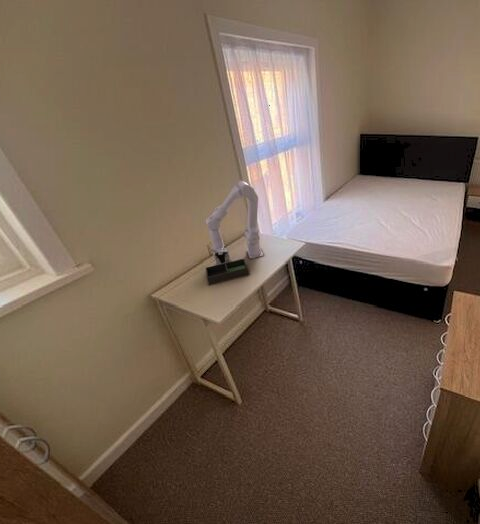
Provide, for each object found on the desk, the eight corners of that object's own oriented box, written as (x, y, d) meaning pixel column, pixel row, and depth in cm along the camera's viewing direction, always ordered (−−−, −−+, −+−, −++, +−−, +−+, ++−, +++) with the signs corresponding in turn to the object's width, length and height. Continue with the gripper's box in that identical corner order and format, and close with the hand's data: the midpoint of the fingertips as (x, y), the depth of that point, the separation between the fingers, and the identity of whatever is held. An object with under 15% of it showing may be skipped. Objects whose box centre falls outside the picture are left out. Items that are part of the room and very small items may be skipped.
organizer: (207, 274, 156) (205, 267, 153) (245, 265, 163) (243, 258, 160) (209, 285, 148) (206, 277, 145) (248, 274, 155) (247, 267, 152)
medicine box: (217, 268, 161) (213, 255, 156) (216, 264, 164) (212, 251, 159) (231, 264, 164) (228, 251, 159) (230, 260, 167) (226, 248, 162)
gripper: (207, 234, 159) (213, 255, 166) (209, 246, 148) (216, 267, 155) (220, 232, 161) (226, 252, 169) (223, 243, 150) (229, 264, 158)
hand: (222, 259), depth 162 cm, fingers open, 7 cm apart
